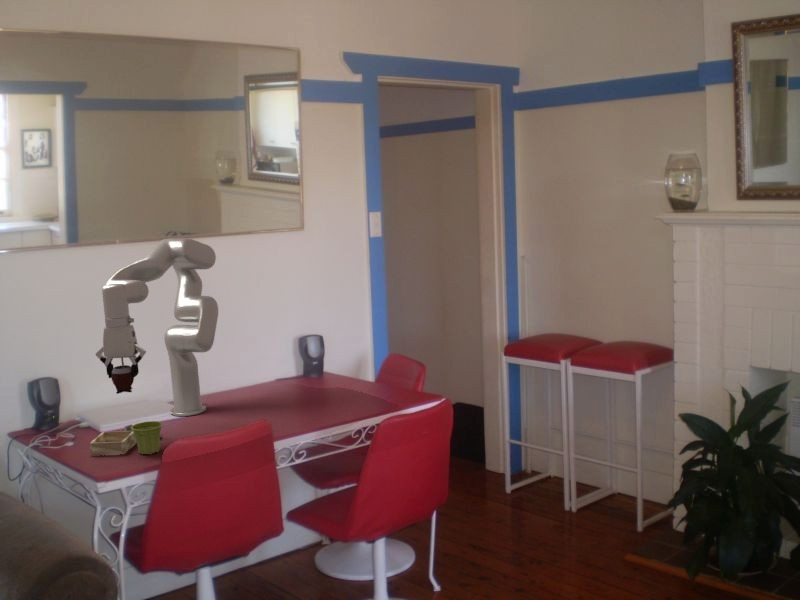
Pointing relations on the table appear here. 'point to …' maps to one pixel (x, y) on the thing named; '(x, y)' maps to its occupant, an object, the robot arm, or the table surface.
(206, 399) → the table surface
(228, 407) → the table surface
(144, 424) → the plant pot
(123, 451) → the holder
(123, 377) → the mate gourd
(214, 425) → the table surface
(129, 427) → the clip
